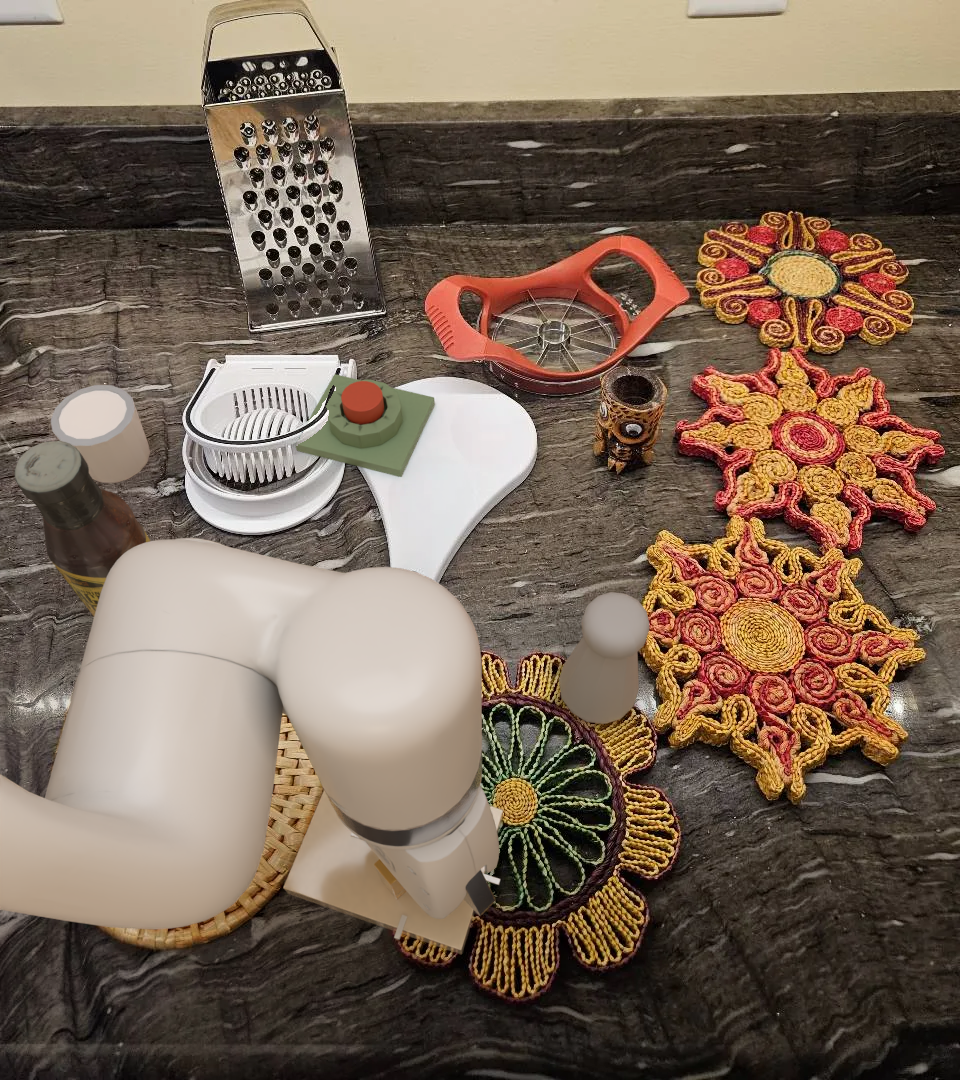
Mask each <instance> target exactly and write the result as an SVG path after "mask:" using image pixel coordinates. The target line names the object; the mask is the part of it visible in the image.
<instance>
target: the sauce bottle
mask: <svg viewBox="0 0 960 1080" xmlns="http://www.w3.org/2000/svg"><path fill="white" fill-rule="evenodd" d="M14 480H15V482H16V484H17V486H18V487H19V489H20V491H21V493H22V494H23V495H24V496H25V498H27V499H28V500H30V501H31V502H33V504H34V505H35V506H36V508H37V509H38V510H39V512H40V514H41V517H42V522H43V523H42V524H43V532H44V542H45V551H46V554H47V557H48V558H49V560H50V562H51V563H52V564H53V565H54V567H55V568H56V569H57V571H58V572H59V574H60V575H61V576H62V577H63V579H64V580H65V581H66V582H67V584H68V585H69V587H70V588H71V589H72V591H73V592H74V593H75V594H76V595H77V597H78V598H79V600H80V601H81V602H82V603H83V604H84V606H85V607H86V608H87V609H88V611H89V612H90V614H91V615H92V617H94V615H95V612H96V608H97V604H98V601H99V597H100V594H101V591H102V588H103V585H104V583H105V580H106V577H107V575H108V573H109V571H110V570H111V568H112V567H113V565H114V564H115V562H116V561H117V560H118V559H119V558H120V557H121V556H122V555H123V554H124V553H125V552H127V551H128V550H130V549H131V548H133V547H135V546H137V545H140V544H143V543H145V542H150V541H151V539H150V538H149V536H148V534H147V532H146V530H145V529H144V527H143V525H142V524H141V522H140V521H138V520H137V518H136V516H135V514H134V511H133V510H132V508H131V507H130V505H129V504H128V503H127V502H126V501H125V500H124V499H123V498H122V496H120V495H118V494H116V493H114V492H112V491H109V490H106V489H104V488H101V487H100V486H99V485H98V484H97V483H96V482H95V480H94V479H92V477H91V476H90V474H89V468H88V465H87V463H86V461H85V459H84V458H83V456H82V455H81V453H80V452H79V450H78V449H77V448H75V447H74V446H73V445H71V444H69V443H67V442H63V441H60V440H56V441H55V440H54V441H44V442H41V443H38V444H35V445H34V446H32V447H30V448H28V449H27V450H26V451H25V452H24V453H23V454H22V455H21V456H20V457H19V458H18V460H17V463H16V464H15V468H14Z"/></svg>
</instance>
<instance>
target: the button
mask: <svg viewBox="0 0 960 1080" xmlns="http://www.w3.org/2000/svg"><path fill="white" fill-rule="evenodd" d="M341 400H342V405H343V410H344V414H345V416H346V418H347V419H348V420H349V421H351V422H353V423H355V424H361V425H364V424H370V423H373V422H375V421H377V420H378V419H379V418H380V417H381V416H382V414H383V412H384V401H383V394H382V391H381V389H380V388H379V387H378V386H377V385H376V384H374V383H372V382H368V381H359V382H355V383H352V384H350V385H349V386H347V387H346V388H345V389H344V391H343V393H342V396H341Z"/></svg>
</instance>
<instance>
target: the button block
mask: <svg viewBox="0 0 960 1080" xmlns="http://www.w3.org/2000/svg"><path fill="white" fill-rule="evenodd" d="M359 381H368V382H372V383H374V384H376V385H377V386H378V387H379V388H380V389H381V391H382V394H383V401H384V412H383V414H382V416H381V417H380V418H379V419H378V420H377V421H375V422H373V423H370V424H364V425H361V424H355V423H353V422H351V421H349V420H348V419H347V418H346V416H345V414H344V410H343V405H342V400H341V396H342V393H343V391H344V389H345V388H346V387H347V386H349V385H350V384H352V383H355V382H359ZM333 385H334V386H335V387H336V391H334V392H333V394H332V396H331V398H330V399H329V401H328V403H327V405H326V408H327V410H329V416H328V421H327V422H326V424H325V425H324V426H323V428H322V429H321V430H319V431H318V432H317V433H316V434H314V435H313V436H312V437H310V438H309V439H307V440H306V441H304V442H302V443H300V444H298V446H296V445H295V449H296V451H297V452H299V453H303V454H308V455H312V456H316V457H320V458H324V459H327V460H332V461H336V462H340V463H342V464H348V465H351V466H356V467H360V468H363V469H367V470H372V471H375V472H379V473H383V474H387V475H390V476H395V477H398V478H401V477H403V475H404V473H405V470H406V468H407V466H408V463H409V461H410V459H411V457H412V456H413V455H412V454H413V453H414V450H415V449H416V446H417V444H418V442H419V440H420V438H421V435H422V433H423V431H424V429H425V427H426V425H427V423H428V420H429V419H430V416H431V415H432V412H433V409H434V408H435V405H436V401H435V397H433V396H429V395H425V394H421V393H417V392H412V391H408V390H404V389H399V388H395V387H392V386H390V385H388V384H387V383H386V382H382V381H378V380H373V379H370V378H369V379H357V378H353V377H349V376H344V375H340V374H336V373H335V374H333V376H332V378H331V380H330V381H329V383H328V385H327V386H326V389H325V390H324V392H323V394H322V396H321V397H320V399H319V401H318V402H317V404H316V405H315V408H314V409H313V411H312V413H311V415H310V417H309V418H308V420H307V422H308V421H309V420H310V419H311V418H312V417H313V416H314V415H316V414H317V413H318V411H319V410H320V408H321V406H322V403H323V402H324V401H325V400H326V398H327V397H328V394H329V392H330V389H331V388H332V386H333Z"/></svg>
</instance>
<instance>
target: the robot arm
mask: <svg viewBox="0 0 960 1080" xmlns="http://www.w3.org/2000/svg"><path fill="white" fill-rule="evenodd" d="M88 634H89V635H88V639H87V642H86V645H85V649H84V654H83V657H82V662H81V664H80V669H79V672H78V675H77V677H76V680H75V684H74V688H73V692H72V696H71V699H70V702H69V706H68V710H67V714H66V717H65V721H64V725H63V728H62V731H61V732H62V733H61V736H60V739H59V743H58V747H57V751H56V754H55V758H54V762H53V764H52V765H53V766H52V768H51V773H50V776H49V780H48V783H47V788H46V791H45V795H44V797H42V796H40V795H37V794H35V793H33V792H30V791H28V790H27V789H25V788H23V787H22V786H20V785H19V784H17V783H15V782H14V781H12V780H11V779H9V778H7V777H6V776H4V775H2V774H1V773H0V911H5V912H11V913H18V914H23V915H29V916H35V917H42V918H47V919H52V920H60V921H65V922H71V923H78V924H86V925H92V926H97V927H107V928H115V929H116V928H117V929H132V930H133V929H135V930H153V931H154V930H166V929H176V928H183V927H187V926H192V925H195V924H199V923H202V922H206V921H208V920H210V919H211V918H214V917H216V916H218V915H219V914H221V913H223V912H225V911H227V909H229V908H230V907H232V906H233V905H234V904H235V903H236V902H237V901H238V900H239V899H240V897H241V896H243V894H244V893H245V892H246V891H247V890H248V889H249V887H250V885H251V883H252V882H253V880H254V878H255V877H256V874H257V872H258V869H259V866H260V864H261V859H262V856H263V853H264V850H265V844H266V838H267V832H268V826H269V819H270V814H271V806H272V799H273V793H274V787H275V786H274V785H275V778H276V777H275V776H276V769H277V760H278V754H279V753H278V751H279V743H280V737H281V727H282V720H283V719H282V718H283V715H285V716H287V718H288V719H289V722H290V724H291V726H292V728H293V730H294V732H295V734H296V736H297V738H298V740H299V742H300V744H301V746H302V748H303V750H304V753H305V755H306V757H307V758H308V760H309V763H310V765H311V767H312V768H313V770H314V773H315V774H316V777H317V779H318V780H319V783H320V785H321V786H322V789H323V791H325V793H326V795H327V797H328V799H329V801H330V803H331V805H332V806H333V808H334V810H335V812H336V814H337V816H338V817H339V819H340V820H341V822H342V823H343V824H344V825H345V826H346V827H347V828H348V829H349V830H350V831H351V832H352V833H353V834H355V835H356V836H358V837H359V838H361V839H362V840H364V841H365V842H366V843H367V845H368V846H369V847H370V848H371V849H372V851H373V852H374V853H375V854H376V855H377V857H378V858H379V859H380V860H381V861H382V863H383V864H384V865H385V866H386V867H387V869H388V870H389V871H390V872H391V873H392V875H393V876H394V877H395V878H396V879H397V880H398V882H399V883H400V884H401V885H402V886H403V888H404V889H405V890H406V891H407V892H408V893H409V895H410V896H411V897H412V898H413V899H414V900H415V901H416V903H417V904H418V905H419V906H420V907H421V908H422V909H423V910H424V911H425V912H426V913H427V914H428V915H429V916H430V917H432V918H436V919H444V918H445V917H447V916H448V915H449V914H450V913H452V912H453V911H454V910H455V909H456V908H457V907H458V906H459V905H460V904H461V902H462V901H463V899H464V900H465V901H466V902H467V903H468V904H469V905H470V907H471V908H472V909H473V910H474V911H475V914H476V915H478V916H479V917H481V916H482V915H483V914H484V913H485V912H486V911H488V909H489V908H490V907H492V905H493V904H494V903H495V902H496V901H497V899H496V897H495V895H494V893H493V891H492V889H491V887H490V885H489V882H488V881H486V879H485V877H484V875H483V873H482V871H481V869H482V868H483V867H485V870H486V874H487V873H491V872H493V871H494V870H495V869H496V868H497V865H498V863H499V859H500V858H499V856H500V842H499V834H498V835H497V829H496V825H495V821H494V818H493V815H492V812H491V809H490V806H491V805H490V804H489V800H488V798H487V796H486V793H485V791H484V789H483V787H482V785H481V784H482V778H483V713H482V712H483V711H482V710H483V709H482V707H483V705H482V703H483V702H482V701H483V699H482V698H483V697H482V695H483V694H482V693H483V692H482V691H483V689H482V687H483V686H482V685H483V679H482V678H483V677H482V675H483V674H482V673H483V671H482V670H483V666H482V665H483V664H482V654H481V645H480V641H479V636H478V633H477V630H476V627H475V625H474V623H473V621H472V619H471V617H470V615H469V613H468V612H467V610H466V609H465V607H464V606H463V604H462V603H461V602H460V600H459V599H458V598H457V597H456V596H455V595H454V594H453V593H451V591H450V590H449V589H447V588H446V587H445V586H444V585H442V584H440V583H439V582H437V581H436V580H434V579H432V578H431V577H429V576H427V575H424V574H423V573H420V572H417V571H414V570H409V569H406V568H401V567H392V566H376V567H375V566H373V567H366V568H361V569H356V570H351V571H349V572H342V571H338V570H331V569H327V568H322V567H318V566H312V565H308V564H303V563H297V562H293V561H289V560H285V559H281V558H277V557H273V556H269V555H264V554H260V553H256V552H252V551H248V550H243V549H239V548H235V547H231V546H227V545H225V544H222V543H220V542H216V541H214V540H210V539H204V538H199V537H198V538H197V537H183V538H174V539H169V538H168V539H154V540H150V542H145V543H143V544H140V545H137V546H135V547H133V548H131V549H130V550H128V551H127V552H125V553H124V554H123V555H122V556H121V557H120V558H119V559H118V560H117V561H116V562H115V564H114V565H113V567H112V568H111V570H110V571H109V573H108V575H107V577H106V580H105V583H104V585H103V588H102V591H101V594H100V597H99V601H98V604H97V608H96V612H95V615H94V616H93V620H92V623H91V627H90V630H89V633H88ZM489 805H490V806H489Z"/></svg>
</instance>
